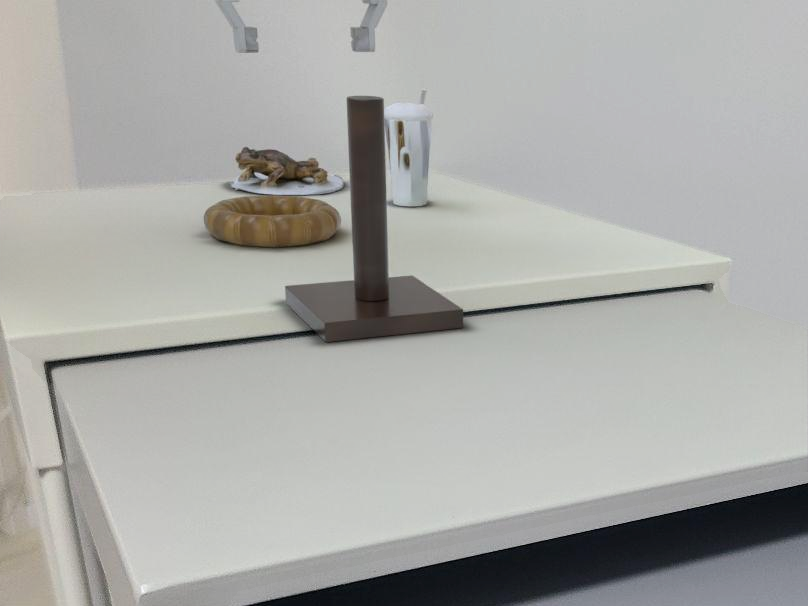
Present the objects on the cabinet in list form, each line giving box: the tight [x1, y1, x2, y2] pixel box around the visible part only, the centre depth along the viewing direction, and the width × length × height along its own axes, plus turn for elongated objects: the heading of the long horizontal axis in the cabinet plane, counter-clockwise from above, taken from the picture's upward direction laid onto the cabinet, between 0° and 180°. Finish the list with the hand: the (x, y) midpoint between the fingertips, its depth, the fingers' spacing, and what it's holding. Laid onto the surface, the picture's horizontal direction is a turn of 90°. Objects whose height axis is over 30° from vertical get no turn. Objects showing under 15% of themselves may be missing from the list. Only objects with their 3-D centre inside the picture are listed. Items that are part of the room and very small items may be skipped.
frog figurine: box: [229, 146, 345, 196], centre depth 108 cm, size 12×12×4 cm
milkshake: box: [384, 89, 434, 208], centre depth 101 cm, size 4×5×10 cm
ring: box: [203, 194, 342, 248], centre depth 89 cm, size 11×11×2 cm
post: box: [284, 95, 464, 343], centre depth 67 cm, size 9×9×13 cm
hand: (306, 52), depth 85 cm, fingers open, 8 cm apart
